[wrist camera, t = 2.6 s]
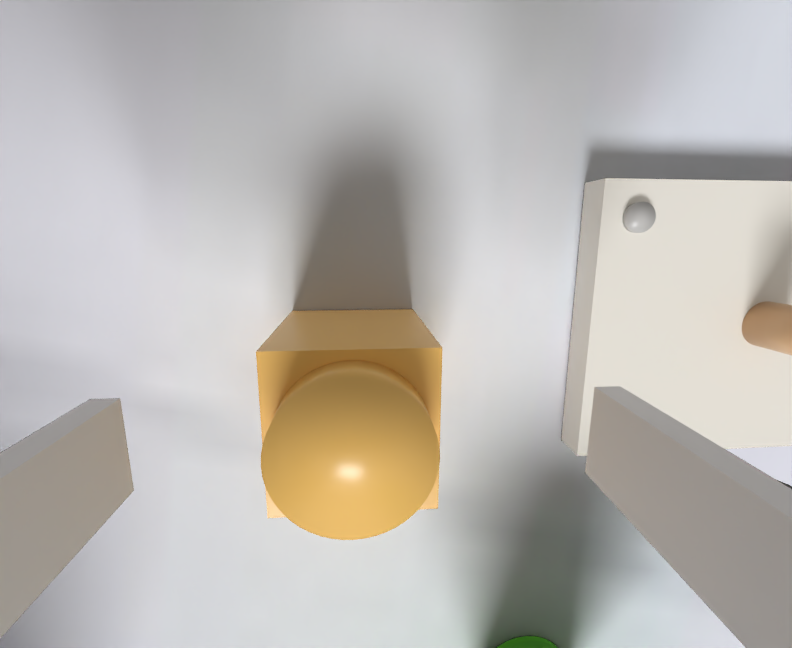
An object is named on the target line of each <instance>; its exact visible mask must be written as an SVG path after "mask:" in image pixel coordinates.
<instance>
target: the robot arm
mask: <svg viewBox="0 0 792 648" xmlns="http://www.w3.org/2000/svg"><path fill="white" fill-rule="evenodd" d="M585 473H586V474H587V475H588V477H589V478H590V479H591V480H592V481H593V482H594V483H595V484H596V485H597V486H598V487H599V488H600V490H601V491H602V492H603V493H604V494H605V495H606V496H607V497H608V498H609V499H610V500H611V502H612V503H613V504H614V505H615V506H616V507H617V508H618V509H619V510H620V511H621V512H622V514H623V515H624V516H625V517H626V518H627V519H628V520H629V521H630V522H631V523H632V524H633V525H634V527H635V528H636V529H637V530H638V531H639V532H640V533H641V534H642V535H643V536H644V537H645V539H646V540H647V541H648V542H649V543H650V544H651V545H652V546H653V547H654V548H655V549H656V551H657V552H658V553H659V554H660V555H661V556H662V557H663V558H664V559H665V560H666V561H667V562H668V564H669V565H670V566H671V567H672V568H673V569H674V570H675V571H676V572H677V573H678V574H679V576H680V577H681V578H682V579H683V580H684V581H685V582H686V583H687V584H688V585H689V586H690V588H691V589H692V590H693V591H694V592H695V593H696V594H697V595H698V596H699V597H700V598H701V599H702V601H703V602H704V603H705V604H706V605H707V606H708V607H709V608H710V609H711V610H712V611H713V613H714V614H715V615H716V616H717V617H718V618H719V619H720V620H721V621H722V622H723V623H724V625H725V626H726V627H727V628H728V629H729V630H730V631H731V632H732V633H733V634H734V635H735V636H736V638H737V639H738V640H739V641H740V642H741V643H742V644H743V645H744V646H745V647H746V648H792V486H790V485H788V484H785V483H783V482H780V481H778V480H776V479H774V478H772V477H771V476H769V475H767V474H766V473H764V472H762V471H761V470H759V469H757V468H756V467H754V466H752V465H751V464H749V463H747V462H746V461H744V460H742V459H741V458H739V457H737V456H736V455H734V454H732V453H731V452H729V451H727V450H726V449H724V448H722V447H721V446H719V445H717V444H716V443H714V442H712V441H711V440H709V439H707V438H706V437H704V436H702V435H701V434H699V433H697V432H696V431H694V430H692V429H691V428H689V427H687V426H685V425H684V424H682V423H680V422H679V421H677V420H675V419H674V418H672V417H670V416H669V415H667V414H665V413H664V412H662V411H660V410H659V409H657V408H655V407H654V406H652V405H650V404H649V403H647V402H645V401H644V400H642V399H640V398H639V397H637V396H635V395H634V394H632V393H630V392H629V391H627V390H625V389H624V388H622V387H620V386H608V387H594V396H593V405H592V414H591V423H590V432H589V440H588V449H587V458H586V467H585ZM133 491H134V488H133V482H132V475H131V468H130V462H129V455H128V448H127V442H126V435H125V428H124V421H123V415H122V408H121V401H120V398H113V399H89V400H87V401H86V402H84V403H82V404H81V405H79V406H77V407H76V408H74V409H72V410H71V411H69V412H67V413H66V414H64V415H62V416H61V417H59V418H57V419H56V420H54V421H52V422H51V423H49V424H47V425H46V426H44V427H42V428H41V429H39V430H38V431H36V432H34V433H33V434H31V435H29V436H28V437H26V438H24V439H23V440H21V441H19V442H18V443H16V444H14V445H13V446H11V447H9V448H8V449H6V450H4V451H3V452H1V453H0V639H1V638H2V636H3V635H4V634H5V633H6V632H7V631H8V630H9V629H10V628H11V626H12V625H13V624H14V623H15V622H16V621H17V620H18V619H19V618H20V616H21V615H22V614H23V613H24V612H25V611H26V610H27V609H28V608H29V606H30V605H31V604H32V603H33V602H34V601H35V600H36V599H37V598H38V596H39V595H40V594H41V593H42V592H43V591H44V590H45V589H46V588H47V586H48V585H49V584H50V583H51V582H52V581H53V580H54V579H55V578H56V576H57V575H58V574H59V573H60V572H61V571H62V570H63V569H64V568H65V566H66V565H67V564H68V563H69V562H70V561H71V560H72V559H73V558H74V556H75V555H76V554H77V553H78V552H79V551H80V550H81V549H82V548H83V546H84V545H85V544H86V543H87V542H88V541H89V540H90V539H91V538H92V536H93V535H94V534H95V533H96V532H97V531H98V530H99V529H100V528H101V526H102V525H103V524H104V523H105V522H106V521H107V520H108V519H109V518H110V516H111V515H112V514H113V513H114V512H115V511H116V510H117V509H118V508H119V506H120V505H121V504H122V503H123V502H124V501H125V500H126V499H127V498H128V496H129V495H130V494H131V493H132V492H133Z"/></svg>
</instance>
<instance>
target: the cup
mask: <svg viewBox="0 0 792 648" xmlns="http://www.w3.org/2000/svg"><path fill="white" fill-rule="evenodd" d="M496 648H558V647H557V646H556V645H555V644H554V643H552V642H550V641H548V640H547V639H544V638H540V637H537V636H524V637H518V638H514V639H511V640H509V641H506V642H504V643H503V644H501V645H500V646H498V647H496Z"/></svg>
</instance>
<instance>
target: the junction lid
mask: <svg viewBox="0 0 792 648" xmlns="http://www.w3.org/2000/svg"><path fill="white" fill-rule="evenodd" d="M608 386H620V387H622V388H624V389H625V390H627V391H629V392H630V393H632V394H634V395H635V396H637V397H639V398H640V399H642V400H644V401H645V402H647V403H649V404H650V405H652V406H654V407H655V408H657V409H659V410H660V411H662V412H664V413H665V414H667V415H669V416H670V417H672V418H674V419H675V420H677V421H679V422H680V423H682V424H684V425H685V426H687V427H689V428H691V429H692V430H694V431H696V432H697V433H699V434H701V435H702V436H704V437H706V438H707V439H709V440H711V441H712V442H714V443H716V444H717V445H719V446H721V447H722V448H724V449H737V448H758V447H779V446H792V181H749V180H688V179H628V178H604V179H600V180H595V181H591V182H587V183H585V187H584V198H583V209H582V220H581V230H580V241H579V252H578V263H577V274H576V284H575V295H574V306H573V317H572V328H571V339H570V349H569V360H568V371H567V382H566V393H565V404H564V414H563V425H562V436H561V441H562V442H563V443H564V444H565V445H566V446H567V447H568V448H569V449H570V450H571V451H573V452H574V453H575V454H576V455H577V456H587V449H588V440H589V432H590V423H591V414H592V405H593V396H594V387H608Z"/></svg>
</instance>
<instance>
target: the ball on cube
mask: <svg viewBox="0 0 792 648" xmlns="http://www.w3.org/2000/svg"><path fill="white" fill-rule="evenodd" d="M256 358H257V372H258V386H259V401H260V415H261V429H262V444H263V445H262V452H261V470H262V477H263V480H264V484H265V487H266V501H267V516H268V518H280V517H287V518H288V519H289V520H290V521H291V522H293V523H294V524H296V525H297V526H299V527H300V528H302V529H304V530H306V531H308V532H311V533H313V534H316V535H319V536H322V537H327V538H331V539H340V540H355V539H364V538H369V537H373V536H377V535H379V534H382V533H385V532H387V531H389V530H391V529H393V528H395V527H397V526H399V525H400V524H402V523H403V522H405V521H406V520H407V519H409V518H410V517H411V516H412V515H413V514H414V513H415V512H416V511H417V510H420V509H437V508H438V489H439V463H440V413H441V376H442V347H441V345H440V344H439V343H438V341H437V340H436V339H435V338H434V336H433V335H432V334H431V332H430V331H429V330H428V329H427V327H426V326H425V325H424V323H423V322H422V321H421V319H420V318H419V317H418V316H417V314H416V313H415V312H414V310H413V309H387V310H311V311H292V312H291V313H290V314H289V315H288V316H287V317H286V319H285V320H284V321H283V322H282V323H281V324H280V325H279V326H278V328H277V329H276V330H275V331H274V332H273V333H272V334H271V335H270V337H269V338H268V339H267V340H266V341H265V342H264V343H263V344H262V346H261V347H260V348H259V349H258V350H257V351H256Z"/></svg>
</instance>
